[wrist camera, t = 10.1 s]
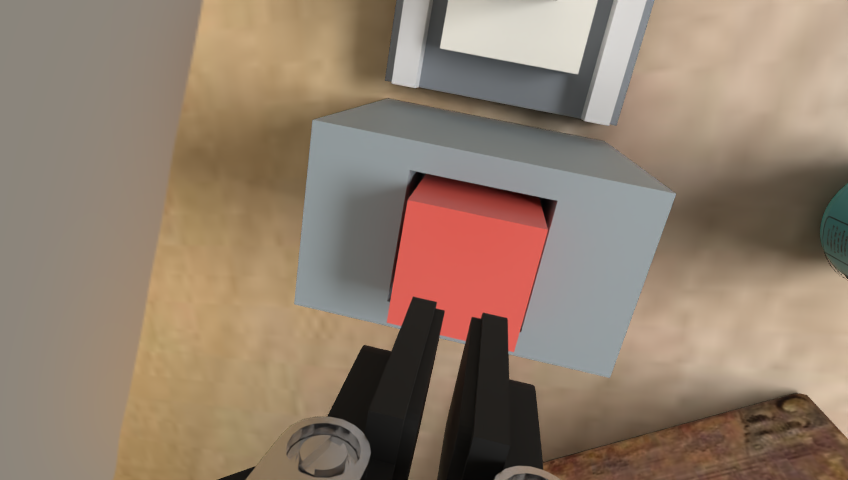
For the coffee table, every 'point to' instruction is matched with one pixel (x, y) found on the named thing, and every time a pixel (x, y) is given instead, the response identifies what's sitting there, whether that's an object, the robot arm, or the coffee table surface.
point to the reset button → (468, 253)
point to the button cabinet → (495, 167)
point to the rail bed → (517, 83)
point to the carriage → (521, 31)
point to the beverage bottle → (836, 231)
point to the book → (724, 448)
